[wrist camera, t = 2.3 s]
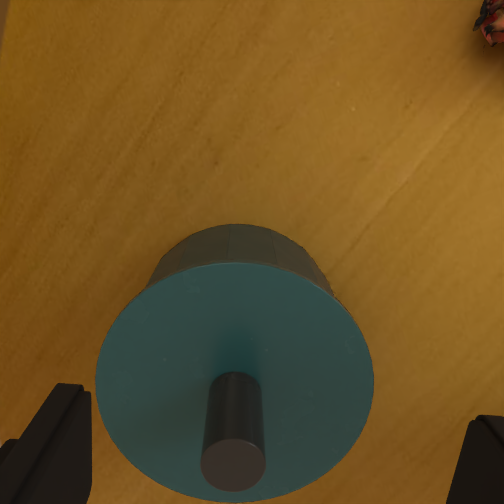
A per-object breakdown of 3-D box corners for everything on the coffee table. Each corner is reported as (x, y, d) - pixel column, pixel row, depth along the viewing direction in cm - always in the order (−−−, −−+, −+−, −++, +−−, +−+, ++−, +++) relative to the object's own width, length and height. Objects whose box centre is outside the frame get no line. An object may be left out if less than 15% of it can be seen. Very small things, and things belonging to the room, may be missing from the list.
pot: (139, 383, 38) (104, 476, 28) (151, 212, 33) (114, 253, 24) (312, 401, 38) (335, 497, 29) (346, 236, 34) (385, 286, 25)
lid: (97, 475, 29) (55, 580, 22) (106, 238, 24) (56, 285, 18) (340, 498, 30) (367, 605, 23) (395, 273, 25) (447, 330, 19)
